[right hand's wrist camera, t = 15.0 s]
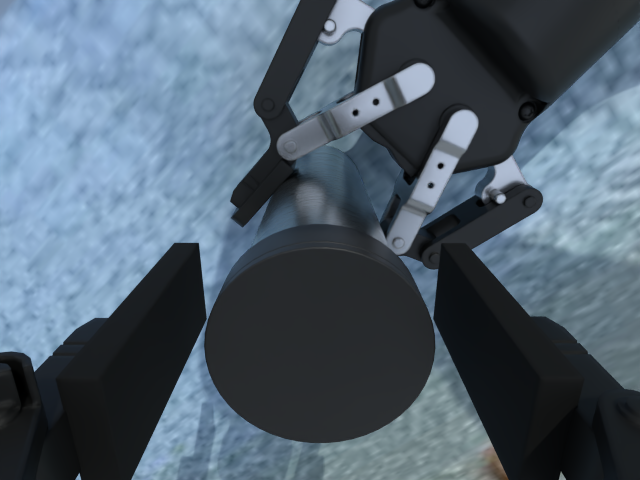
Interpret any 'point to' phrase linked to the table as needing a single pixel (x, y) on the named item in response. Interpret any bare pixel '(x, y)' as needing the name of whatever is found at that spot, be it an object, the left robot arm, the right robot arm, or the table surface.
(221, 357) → the lid
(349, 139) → the table surface
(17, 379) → the right robot arm
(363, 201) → the cylinder
